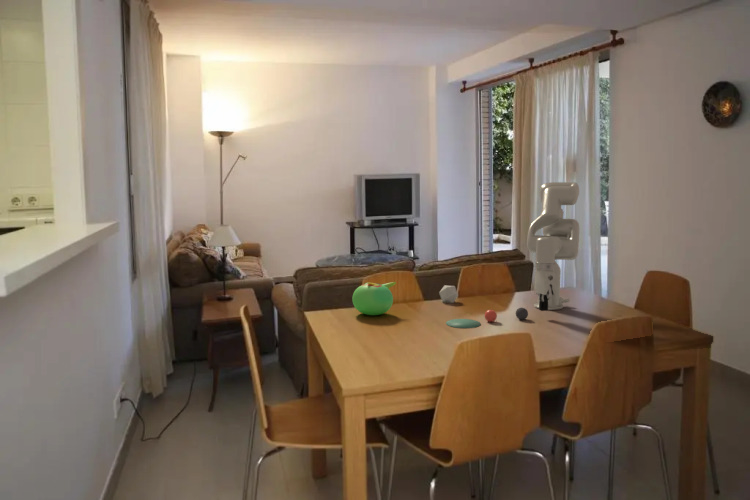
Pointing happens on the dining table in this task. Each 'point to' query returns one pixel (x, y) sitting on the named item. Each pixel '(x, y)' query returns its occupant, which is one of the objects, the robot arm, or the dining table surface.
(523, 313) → the black ball
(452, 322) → the green mark
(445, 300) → the die
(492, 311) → the red ball
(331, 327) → the dining table surface
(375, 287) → the green apple
